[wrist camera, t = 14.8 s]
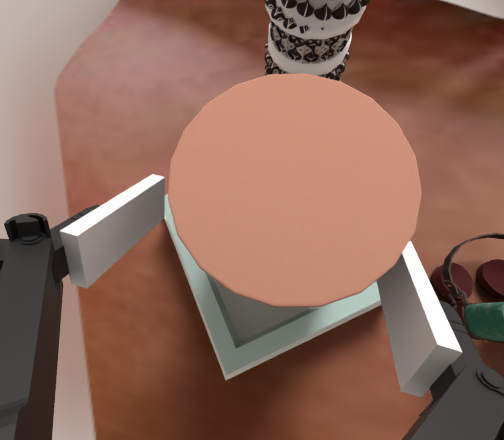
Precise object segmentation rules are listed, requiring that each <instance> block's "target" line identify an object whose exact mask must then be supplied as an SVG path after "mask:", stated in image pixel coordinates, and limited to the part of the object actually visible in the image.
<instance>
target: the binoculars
mask: <svg viewBox="0 0 504 440" xmlns="http://www.w3.org/2000/svg"><path fill="white" fill-rule="evenodd" d="M488 237H489V238H497V239H504V234H499V233H493V234H487V235H481V236H478V237H475V238H472V239H469V240H467V241H465V242H463V243H461V244H459V245H458V246H456V247H454V248H453V249H452V251H451V252H450V253H449V254H448V256H447V257H446V258H445V261H444V265H442V266H440V267H437V268H436V269H435V270H434V271H433V274H432V279H433V283H434V285H435V287H436V289H437V290H438V291H439V292H440V294H441V295H443V296H444V297H445V298H446V299H448V300H450V301H451V304H452V306H453V307H452V308H453V309H454V310H455V311H456V312H457V313H458V315H459V317H460V319H461V321H462V323H463V326H465V328H466V330H467V332H468V335H469V336H470V338H472V339H476V340H482V341H484V342H486V343H488V342H494V343H504V260H499V259H495V260H491V261H489V262H487V263H484V264H482V265H481V266H480V267H479V268H478V270H477V279H478V281H479V283H480V284H481V286H482V287H483V288H484V289H485V290H486V291H487V292H489V293H490V294H492V295H493V296H496V297H498V299H499V301H500V302H495V303H467V302H468V300H467V299H468V298H469V297H470V296H471V294H472V291H473V282H472V279H471V276H470V275H469V273H468V272H467V271H466V270H465V269H464V268H463V267H462V266H460V265H458V264H455V263H451V262H452V257H453V256H454V255H455V253H456V252H457V251H458V250H459V248H460V247H461V246H462V245H464V244H465V243H467V242H469V241H472V240H475V239H481V238H488ZM461 300H464V301H461ZM458 301H460V302H458Z"/></svg>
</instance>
